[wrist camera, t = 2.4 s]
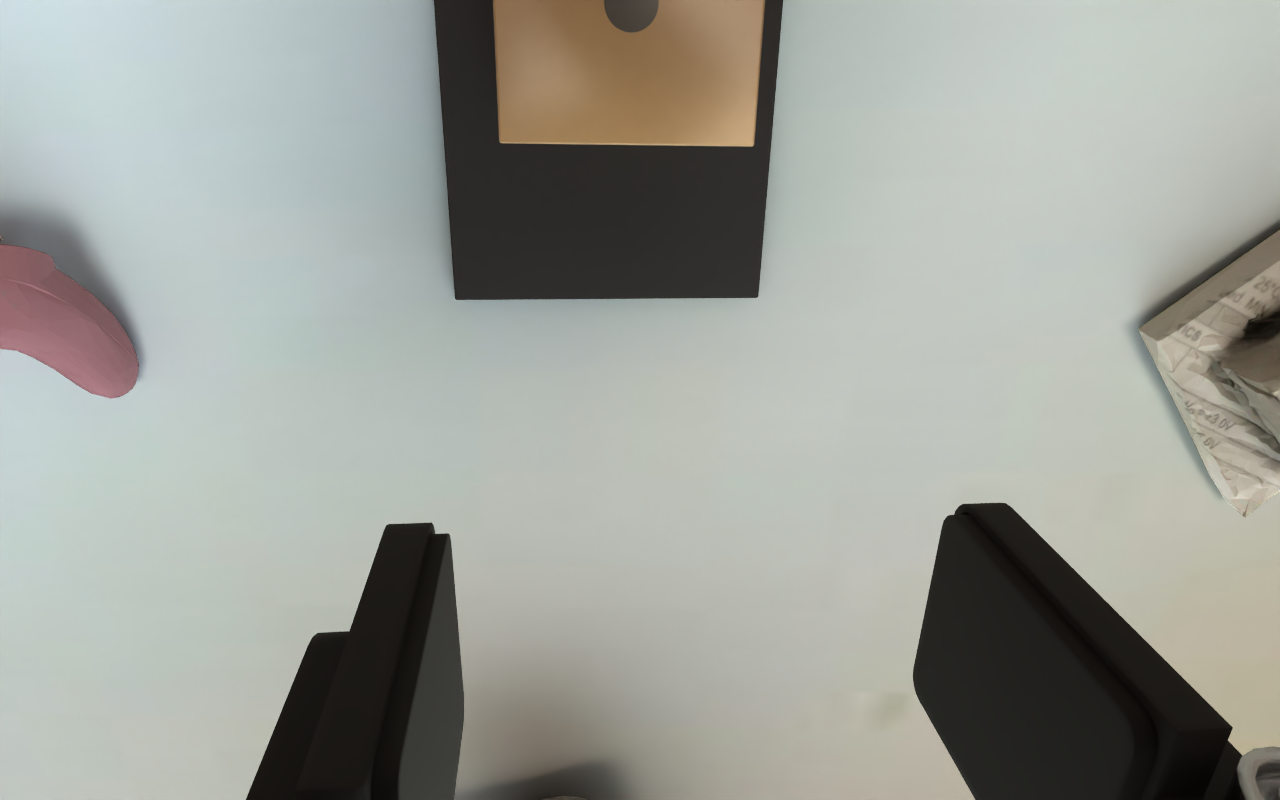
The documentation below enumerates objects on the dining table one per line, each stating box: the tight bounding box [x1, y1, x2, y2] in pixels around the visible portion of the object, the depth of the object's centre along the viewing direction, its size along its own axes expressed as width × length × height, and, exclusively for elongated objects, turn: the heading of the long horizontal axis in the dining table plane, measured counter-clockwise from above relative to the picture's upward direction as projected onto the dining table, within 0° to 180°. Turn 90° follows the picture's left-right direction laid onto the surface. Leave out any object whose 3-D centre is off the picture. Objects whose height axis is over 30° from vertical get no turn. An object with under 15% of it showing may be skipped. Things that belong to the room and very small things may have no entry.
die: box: [493, 0, 765, 147], centre depth 20 cm, size 6×6×6 cm
